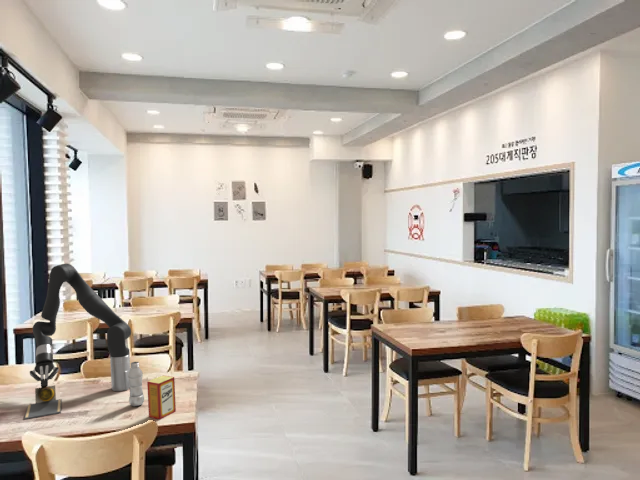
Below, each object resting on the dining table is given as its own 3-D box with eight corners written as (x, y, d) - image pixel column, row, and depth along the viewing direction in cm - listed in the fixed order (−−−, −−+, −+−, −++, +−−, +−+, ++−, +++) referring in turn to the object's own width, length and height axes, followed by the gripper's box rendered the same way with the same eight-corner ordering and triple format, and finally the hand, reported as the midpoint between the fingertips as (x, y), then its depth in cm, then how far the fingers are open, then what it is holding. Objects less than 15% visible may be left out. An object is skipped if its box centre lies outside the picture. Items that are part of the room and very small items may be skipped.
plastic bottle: (147, 403, 229) (145, 361, 228) (137, 408, 222) (135, 365, 221) (136, 401, 231) (134, 360, 230) (126, 407, 224) (124, 364, 223)
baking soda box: (164, 409, 221) (163, 374, 220) (175, 411, 218) (174, 376, 217) (148, 417, 212) (147, 381, 212) (160, 419, 210) (158, 383, 209)
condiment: (55, 400, 235) (54, 400, 225) (35, 404, 231) (33, 404, 221) (55, 385, 237) (54, 384, 227) (35, 388, 233) (32, 387, 223)
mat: (27, 405, 229) (27, 404, 229) (61, 400, 236) (61, 398, 236) (24, 419, 213) (24, 418, 213) (60, 413, 220) (60, 411, 220)
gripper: (28, 353, 238) (27, 385, 228) (58, 350, 244) (59, 381, 234) (29, 362, 243) (29, 393, 233) (59, 357, 249) (60, 388, 239)
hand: (44, 387), depth 233 cm, fingers closed
